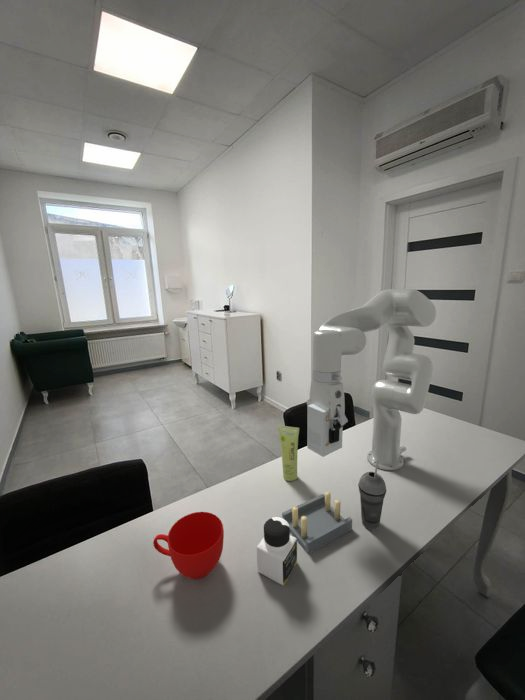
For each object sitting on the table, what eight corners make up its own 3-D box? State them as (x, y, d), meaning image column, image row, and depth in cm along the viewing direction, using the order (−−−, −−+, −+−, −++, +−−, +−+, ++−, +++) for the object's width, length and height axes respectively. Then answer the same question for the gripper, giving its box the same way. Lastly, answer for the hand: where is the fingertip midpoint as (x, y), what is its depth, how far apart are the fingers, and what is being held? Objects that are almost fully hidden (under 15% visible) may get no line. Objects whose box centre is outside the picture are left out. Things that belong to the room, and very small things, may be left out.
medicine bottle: (283, 587, 67) (282, 542, 65) (257, 572, 71) (255, 528, 68) (297, 562, 73) (297, 520, 71) (272, 549, 77) (271, 509, 74)
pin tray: (323, 502, 93) (323, 483, 91) (351, 529, 82) (352, 508, 81) (282, 522, 85) (281, 502, 84) (308, 554, 75) (308, 531, 74)
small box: (325, 439, 90) (326, 398, 88) (342, 448, 85) (344, 404, 82) (306, 448, 85) (306, 405, 83) (323, 457, 80) (324, 412, 78)
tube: (284, 483, 102) (283, 431, 98) (279, 474, 107) (278, 424, 103) (299, 480, 104) (299, 428, 100) (294, 471, 109) (293, 421, 104)
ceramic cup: (166, 544, 80) (162, 511, 77) (229, 544, 79) (227, 511, 77) (146, 593, 67) (140, 555, 65) (221, 593, 66) (218, 555, 64)
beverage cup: (364, 509, 89) (367, 449, 85) (388, 523, 84) (392, 458, 80) (351, 523, 84) (354, 459, 80) (377, 538, 79) (380, 471, 75)
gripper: (360, 381, 75) (357, 446, 79) (316, 366, 90) (315, 422, 94) (338, 386, 72) (336, 454, 75) (296, 370, 87) (296, 427, 90)
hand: (324, 435), depth 85 cm, fingers closed on small box, 6 cm apart
